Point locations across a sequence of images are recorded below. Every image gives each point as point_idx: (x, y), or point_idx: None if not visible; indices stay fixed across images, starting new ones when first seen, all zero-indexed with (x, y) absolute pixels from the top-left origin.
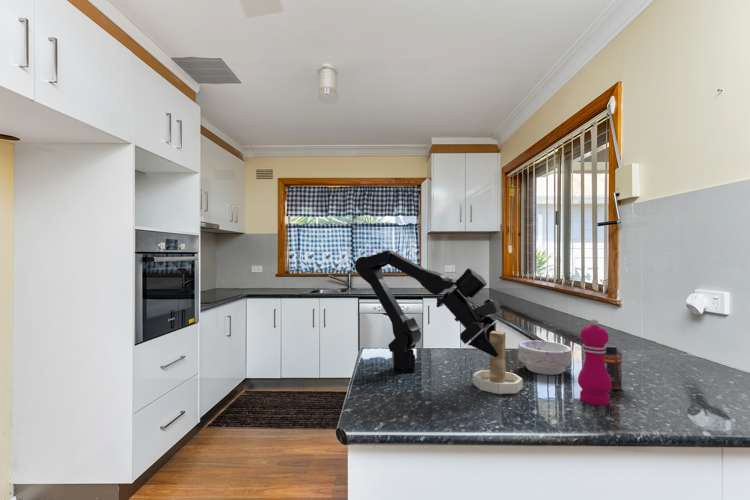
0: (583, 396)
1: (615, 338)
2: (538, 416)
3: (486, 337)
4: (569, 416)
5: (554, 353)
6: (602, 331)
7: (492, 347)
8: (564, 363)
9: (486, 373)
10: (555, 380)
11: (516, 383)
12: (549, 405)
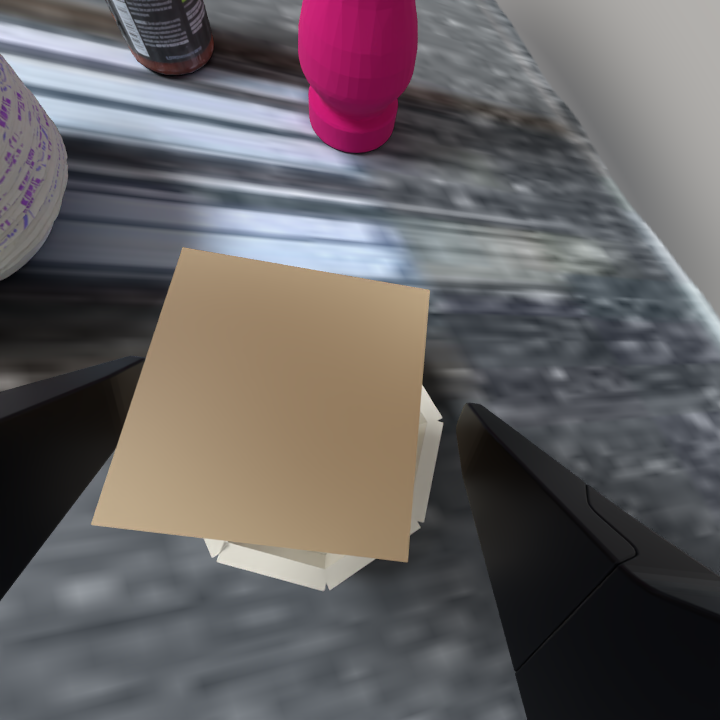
0: (378, 134)
1: None
2: (577, 287)
3: (668, 577)
4: (526, 207)
5: None
6: None
7: (546, 456)
8: (28, 89)
9: None
10: (138, 196)
11: None
12: (462, 248)
